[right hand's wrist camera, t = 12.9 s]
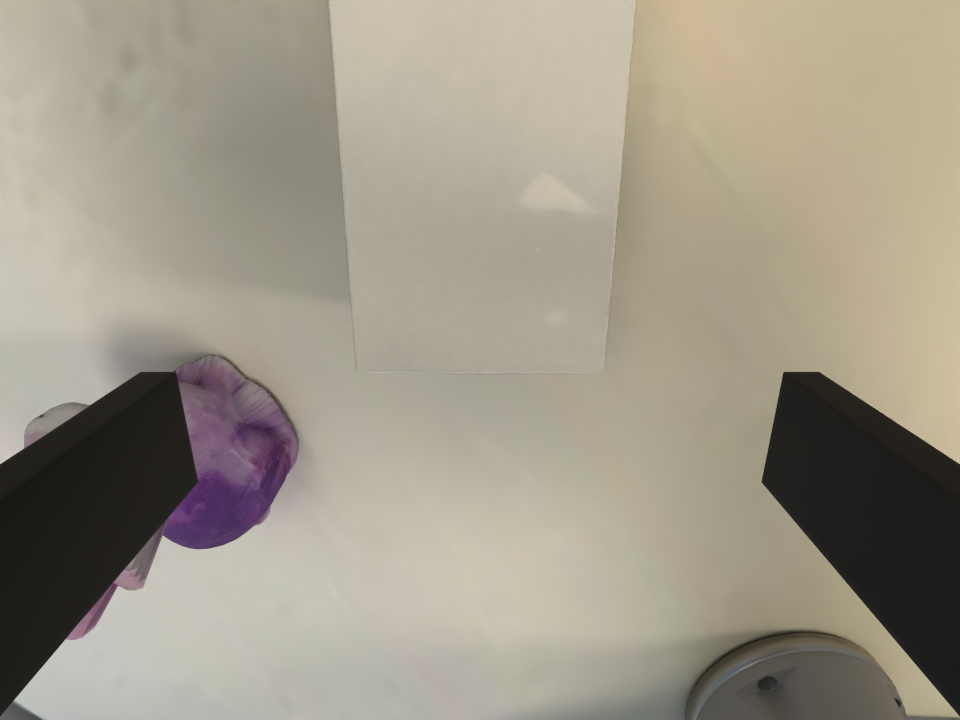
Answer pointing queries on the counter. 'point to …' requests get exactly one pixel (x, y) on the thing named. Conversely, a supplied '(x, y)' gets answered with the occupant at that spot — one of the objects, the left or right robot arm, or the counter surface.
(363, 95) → the cabinet
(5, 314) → the counter surface
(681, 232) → the counter surface
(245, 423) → the figurine
